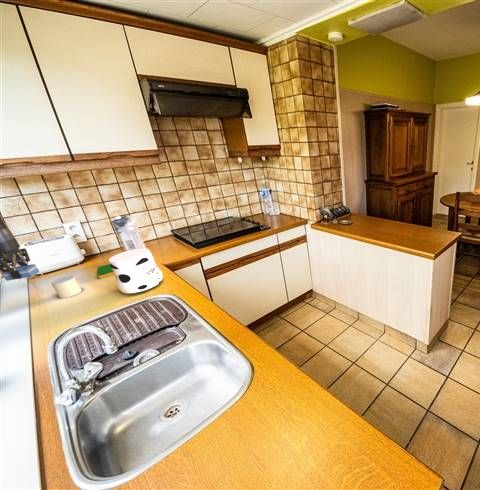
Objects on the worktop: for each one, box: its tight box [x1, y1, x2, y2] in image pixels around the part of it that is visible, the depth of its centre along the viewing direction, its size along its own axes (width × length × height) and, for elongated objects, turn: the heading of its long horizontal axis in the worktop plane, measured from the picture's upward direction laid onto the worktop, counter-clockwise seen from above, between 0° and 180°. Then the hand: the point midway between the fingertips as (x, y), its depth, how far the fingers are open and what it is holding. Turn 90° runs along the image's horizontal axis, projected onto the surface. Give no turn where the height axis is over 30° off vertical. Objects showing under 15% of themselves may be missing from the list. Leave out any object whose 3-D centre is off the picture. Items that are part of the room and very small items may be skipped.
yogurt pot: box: [50, 275, 82, 299], centre depth 128 cm, size 8×8×8 cm
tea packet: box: [1, 263, 40, 282], centre depth 115 cm, size 8×5×4 cm, turn 111°
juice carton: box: [111, 215, 147, 252], centre depth 162 cm, size 9×10×27 cm
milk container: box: [108, 247, 164, 295], centre depth 128 cm, size 17×17×18 cm
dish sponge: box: [96, 263, 115, 280], centre depth 148 cm, size 7×14×2 cm, turn 44°
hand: (23, 275), depth 116 cm, fingers closed on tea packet, 5 cm apart
